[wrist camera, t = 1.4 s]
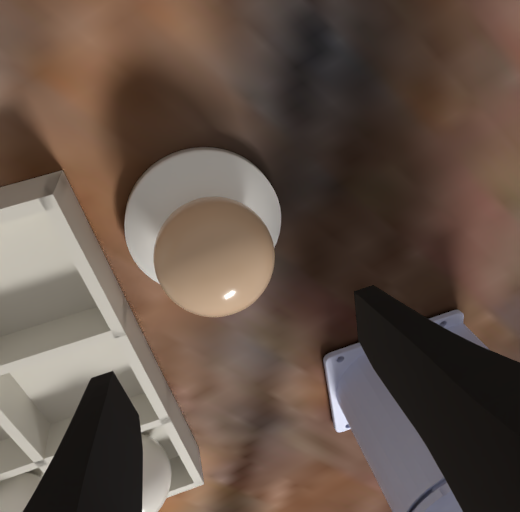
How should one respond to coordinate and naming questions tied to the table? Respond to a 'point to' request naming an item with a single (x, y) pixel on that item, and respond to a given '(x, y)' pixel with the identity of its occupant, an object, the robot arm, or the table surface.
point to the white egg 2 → (154, 475)
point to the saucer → (193, 195)
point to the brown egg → (214, 256)
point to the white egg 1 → (17, 491)
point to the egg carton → (70, 335)
